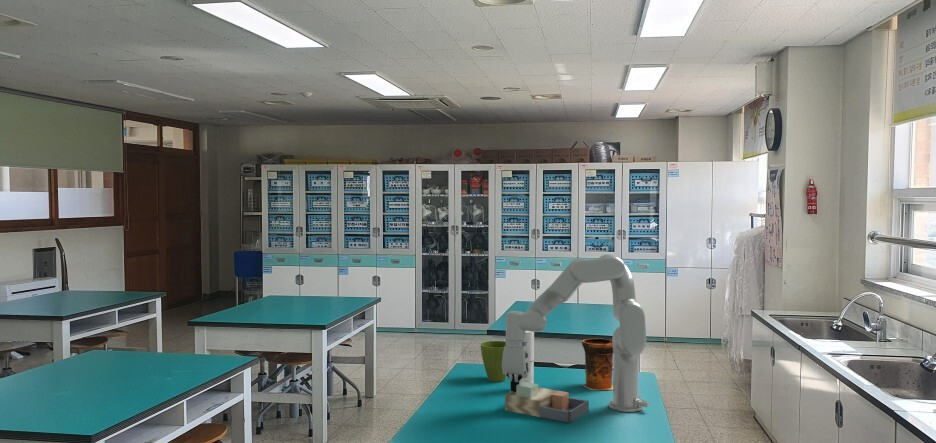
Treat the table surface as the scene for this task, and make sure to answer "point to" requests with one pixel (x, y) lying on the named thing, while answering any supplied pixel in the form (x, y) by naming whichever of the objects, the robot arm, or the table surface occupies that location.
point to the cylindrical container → (530, 339)
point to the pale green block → (527, 390)
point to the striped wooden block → (529, 402)
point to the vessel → (598, 363)
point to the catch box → (566, 411)
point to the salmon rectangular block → (560, 400)
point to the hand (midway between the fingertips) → (514, 391)
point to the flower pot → (493, 359)
